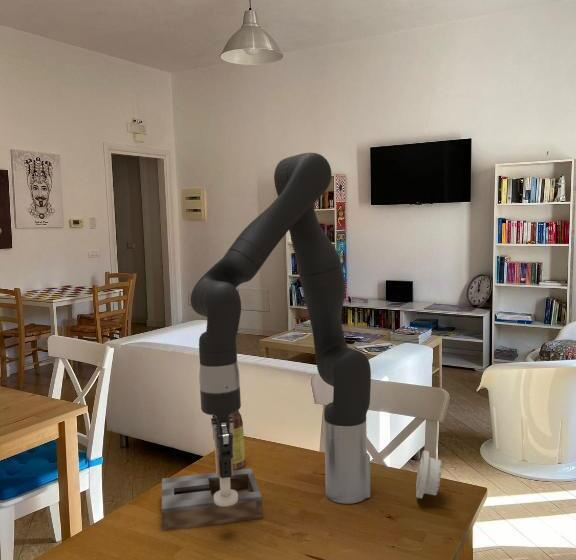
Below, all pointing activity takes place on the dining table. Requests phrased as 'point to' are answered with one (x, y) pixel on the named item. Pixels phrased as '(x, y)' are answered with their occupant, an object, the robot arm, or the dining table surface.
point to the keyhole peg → (224, 487)
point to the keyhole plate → (215, 511)
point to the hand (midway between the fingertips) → (224, 472)
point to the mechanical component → (428, 475)
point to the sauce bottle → (238, 441)
